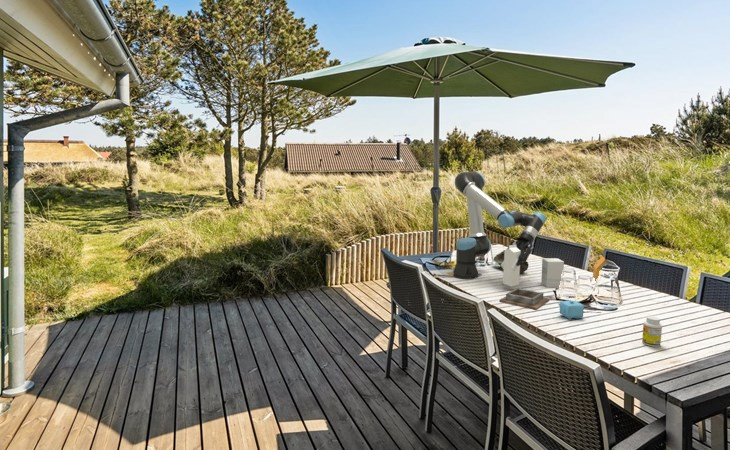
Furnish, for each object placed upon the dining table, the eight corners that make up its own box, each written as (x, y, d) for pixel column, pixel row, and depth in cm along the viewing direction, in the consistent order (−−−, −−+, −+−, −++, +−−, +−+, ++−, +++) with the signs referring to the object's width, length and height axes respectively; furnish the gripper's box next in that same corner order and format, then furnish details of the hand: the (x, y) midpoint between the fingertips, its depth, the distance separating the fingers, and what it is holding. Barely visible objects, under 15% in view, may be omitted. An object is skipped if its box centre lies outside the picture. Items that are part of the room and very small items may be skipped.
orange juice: (594, 296, 204) (596, 258, 202) (591, 291, 213) (594, 255, 210) (611, 297, 201) (614, 259, 199) (608, 293, 210) (611, 256, 207)
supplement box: (557, 283, 228) (558, 258, 227) (563, 287, 220) (564, 261, 218) (540, 283, 229) (542, 257, 227) (546, 287, 221) (547, 261, 219)
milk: (519, 284, 217) (521, 245, 214) (511, 286, 214) (513, 246, 211) (510, 282, 222) (512, 243, 219) (502, 283, 219) (504, 244, 216)
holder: (499, 301, 197) (499, 294, 196) (513, 293, 210) (514, 286, 210) (536, 309, 185) (536, 301, 184) (549, 300, 198) (549, 292, 197)
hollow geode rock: (525, 283, 246) (541, 265, 246) (512, 270, 243) (529, 252, 243) (501, 271, 273) (516, 255, 273) (490, 259, 270) (504, 243, 270)
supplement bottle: (642, 339, 151) (645, 314, 150) (660, 343, 148) (663, 317, 146) (641, 344, 147) (643, 318, 146) (659, 348, 143) (662, 321, 142)
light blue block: (560, 320, 172) (561, 303, 171) (552, 315, 178) (553, 299, 177) (586, 319, 173) (587, 302, 172) (577, 314, 179) (578, 298, 178)
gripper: (546, 242, 215) (525, 276, 208) (516, 237, 231) (496, 268, 224) (540, 234, 211) (519, 268, 205) (510, 229, 227) (490, 260, 221)
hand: (507, 268), depth 215 cm, fingers closed on milk, 6 cm apart
